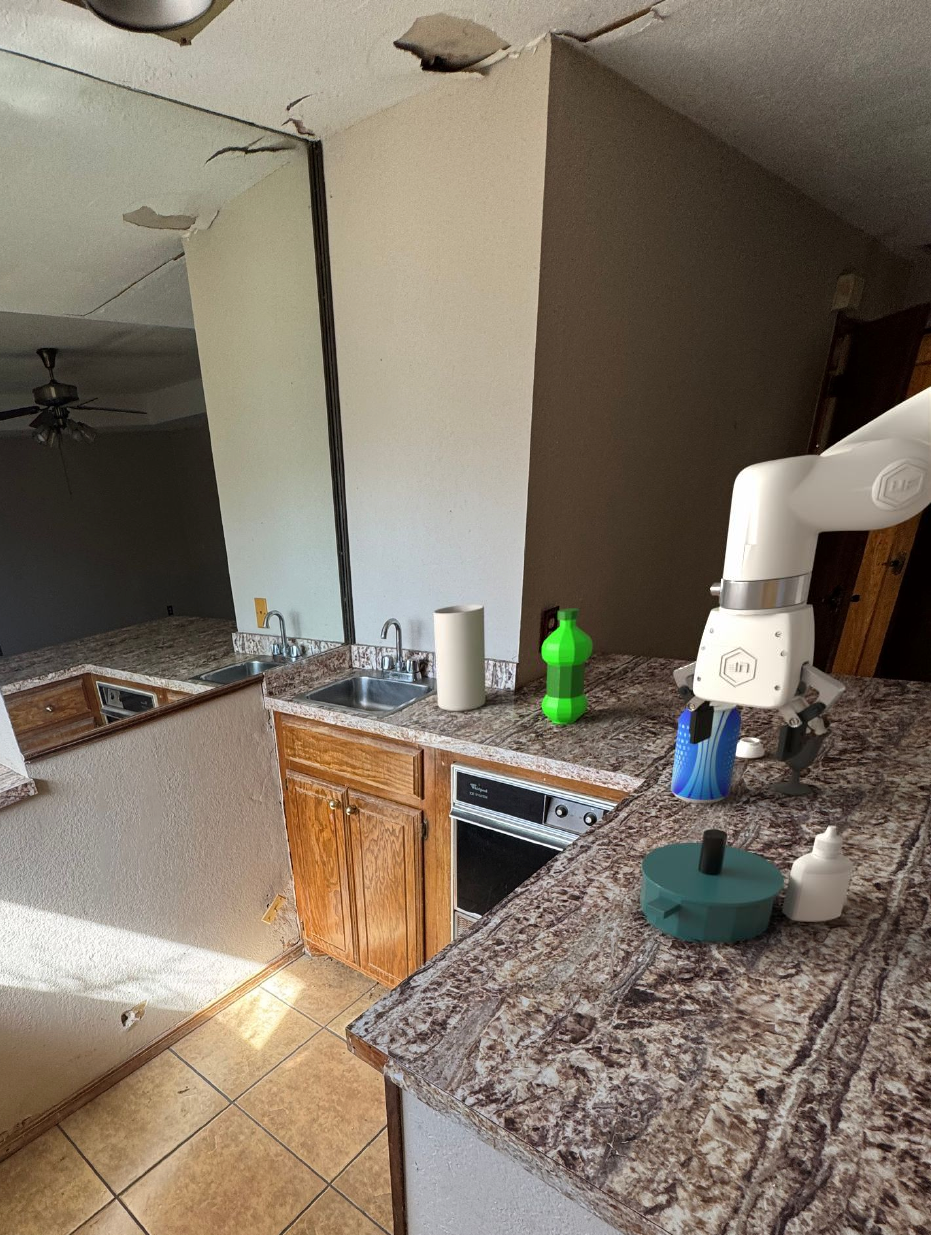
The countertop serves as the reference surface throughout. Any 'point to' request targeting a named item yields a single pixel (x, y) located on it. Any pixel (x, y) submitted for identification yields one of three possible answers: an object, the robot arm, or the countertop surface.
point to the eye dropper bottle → (819, 881)
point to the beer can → (706, 757)
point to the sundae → (805, 755)
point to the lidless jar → (749, 748)
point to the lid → (712, 873)
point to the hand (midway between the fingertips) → (741, 749)
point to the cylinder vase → (460, 657)
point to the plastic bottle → (566, 669)
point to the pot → (702, 917)
